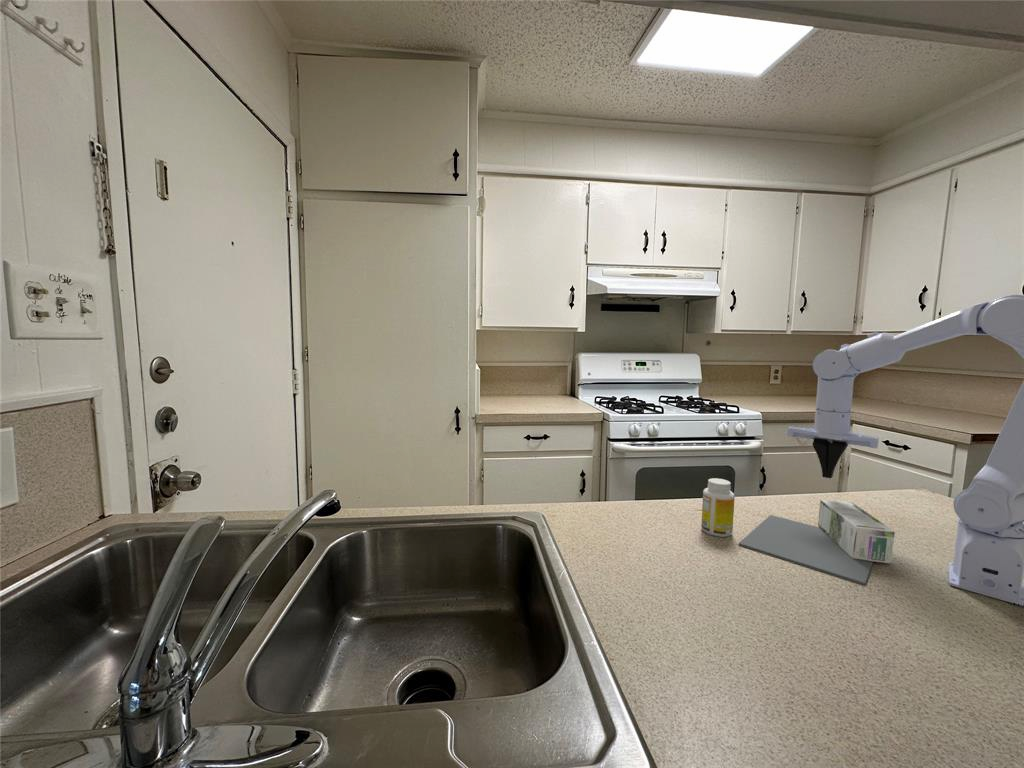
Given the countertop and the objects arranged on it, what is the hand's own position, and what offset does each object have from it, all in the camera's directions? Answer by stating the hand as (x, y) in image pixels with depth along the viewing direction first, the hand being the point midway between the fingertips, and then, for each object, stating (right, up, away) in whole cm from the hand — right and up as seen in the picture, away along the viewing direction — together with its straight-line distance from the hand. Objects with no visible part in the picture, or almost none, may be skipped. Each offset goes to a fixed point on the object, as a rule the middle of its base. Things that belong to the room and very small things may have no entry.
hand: (827, 476), depth 87 cm
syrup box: (+1, -7, -1) cm, 7 cm away
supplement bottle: (-24, -11, -3) cm, 26 cm away
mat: (-9, -11, -8) cm, 16 cm away
